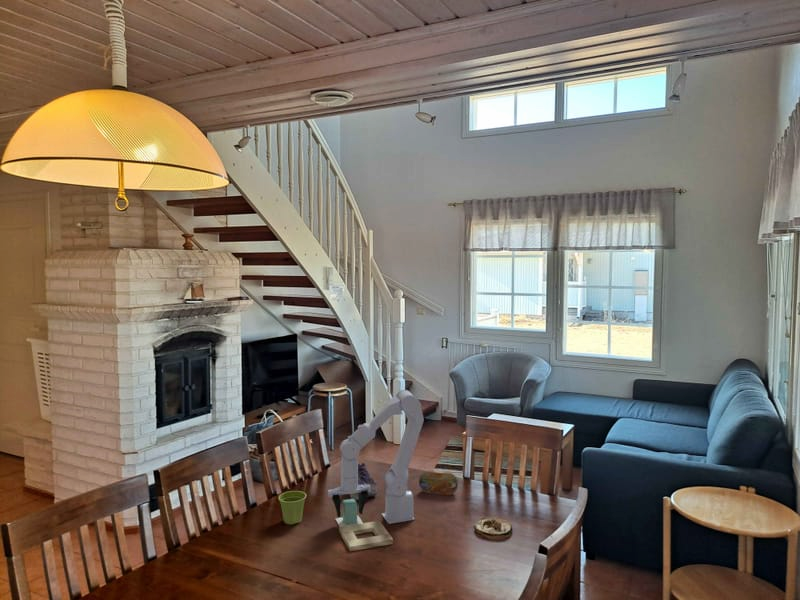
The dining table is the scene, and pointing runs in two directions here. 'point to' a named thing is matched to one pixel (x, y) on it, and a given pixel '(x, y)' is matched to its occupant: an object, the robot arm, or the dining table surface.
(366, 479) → the geode
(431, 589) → the dining table surface
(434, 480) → the tin
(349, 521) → the teal block
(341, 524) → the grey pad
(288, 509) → the plant pot
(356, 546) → the board
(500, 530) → the beige round shallow dish
